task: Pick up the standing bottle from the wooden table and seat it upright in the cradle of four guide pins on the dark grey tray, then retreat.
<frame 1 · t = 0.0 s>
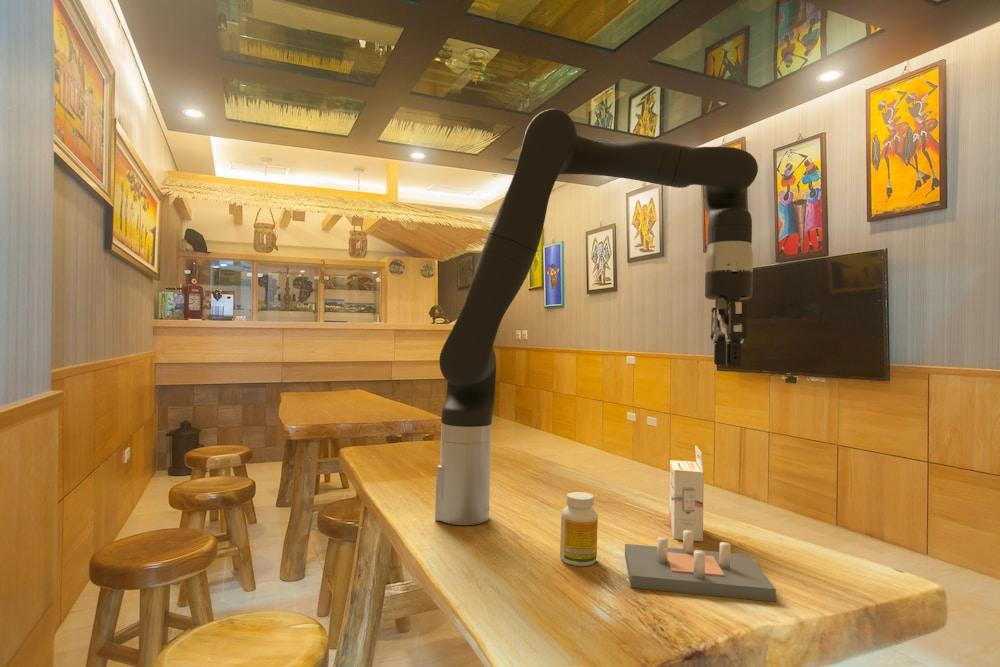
hand: (726, 365, 93), 29 cm above the table, fingers open, 8 cm apart
pin tray: (692, 575, 77), on the table
ink cartridge box: (684, 534, 95), on the table
supplement bottle: (578, 561, 82), on the table
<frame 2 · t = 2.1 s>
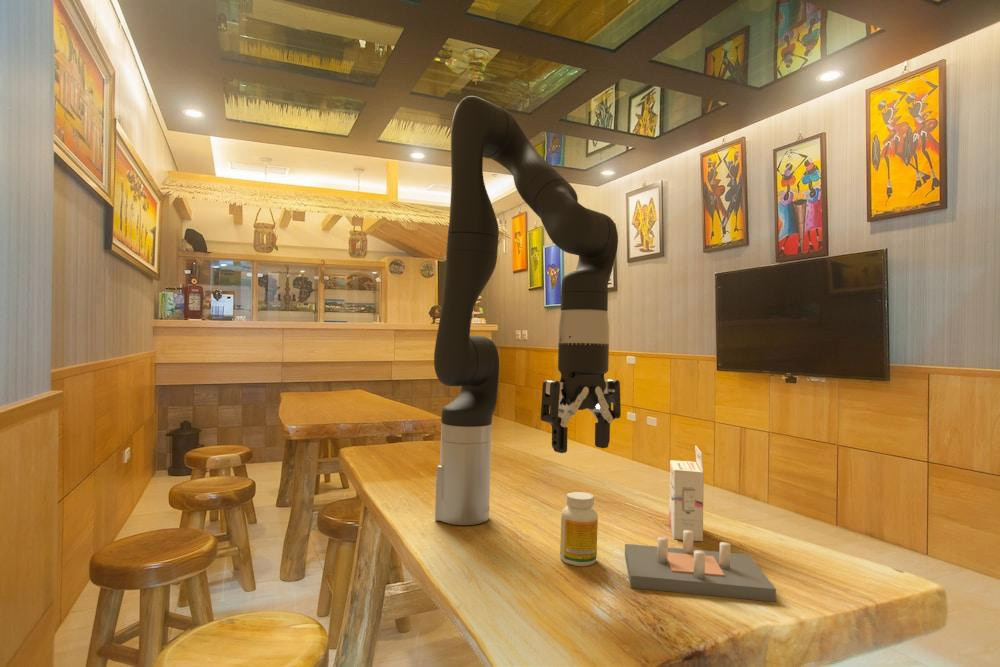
hand: (581, 449, 82), 16 cm above the table, fingers open, 8 cm apart
nothing on the table moved.
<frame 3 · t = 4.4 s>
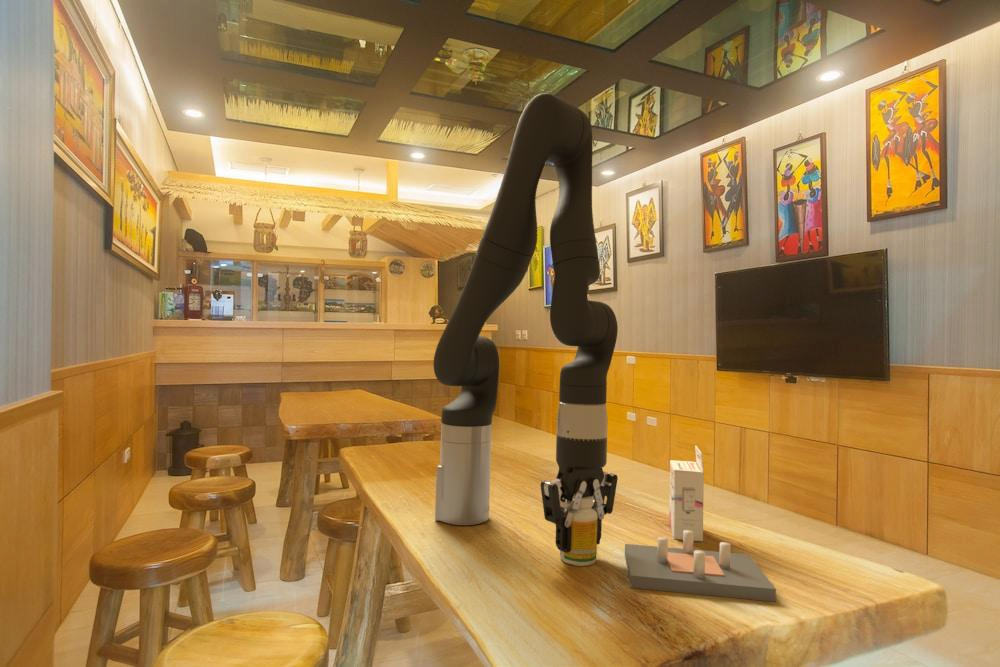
hand: (578, 546, 82), 2 cm above the table, fingers closed on supplement bottle, 5 cm apart
supplement bottle: (578, 561, 82), on the table, touching gripper
everything else where it was.
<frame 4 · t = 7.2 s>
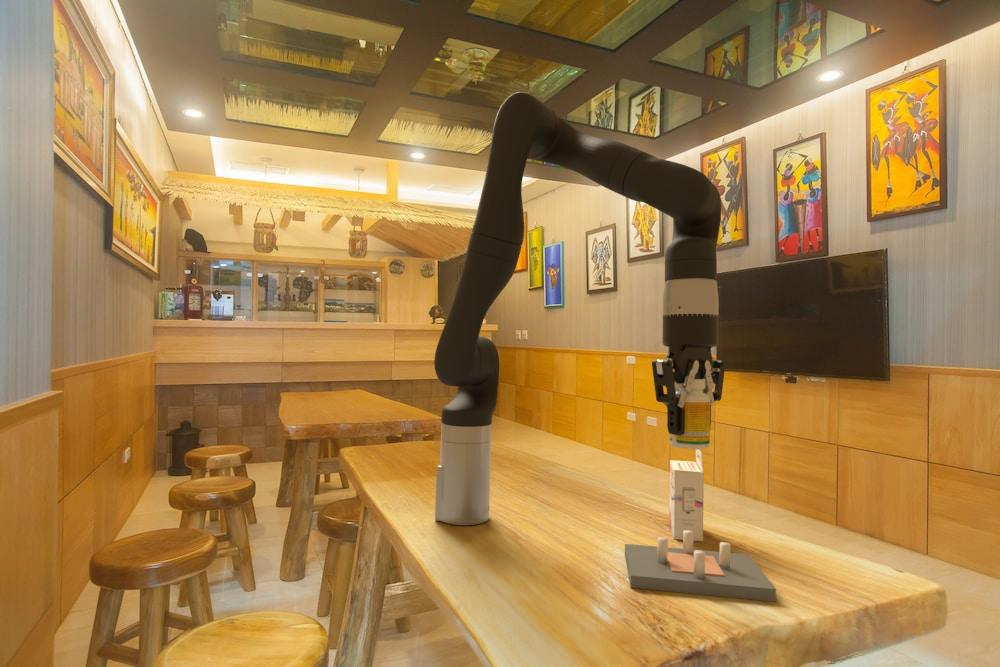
hand: (689, 432, 77), 20 cm above the table, fingers closed on supplement bottle, 5 cm apart
supplement bottle: (689, 448, 77), point 18 cm above the table, touching gripper
everything else where it was.
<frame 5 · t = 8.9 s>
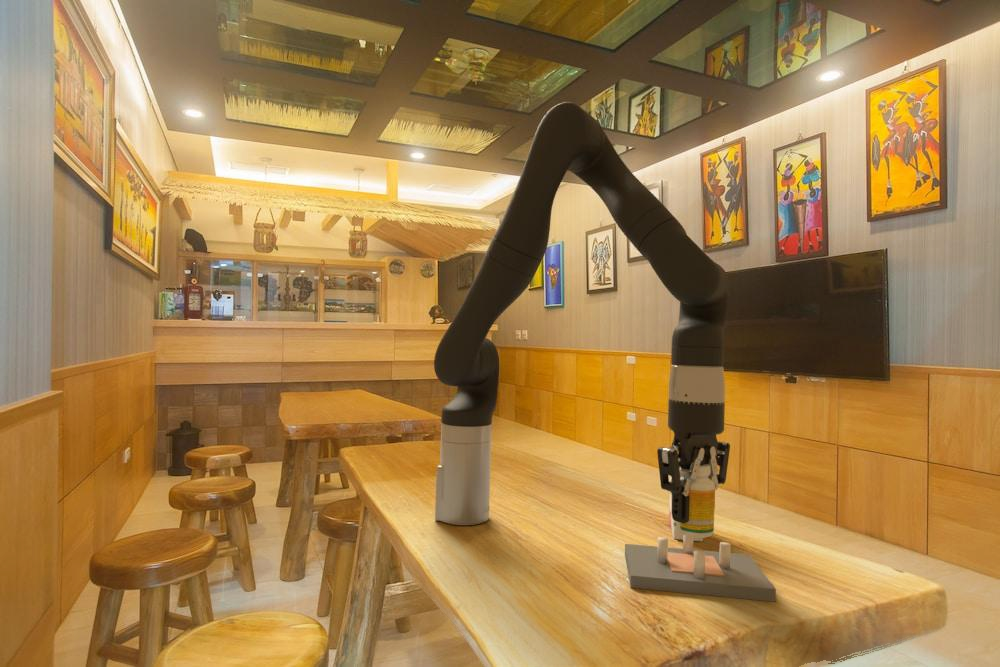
hand: (693, 517, 77), 8 cm above the table, fingers closed on supplement bottle, 5 cm apart
supplement bottle: (693, 533, 77), point 6 cm above the table, touching gripper
everything else where it was.
when the fingers open (5 cm above the table, at t = 10.4 s): supplement bottle stays where it is, resting on pin tray.
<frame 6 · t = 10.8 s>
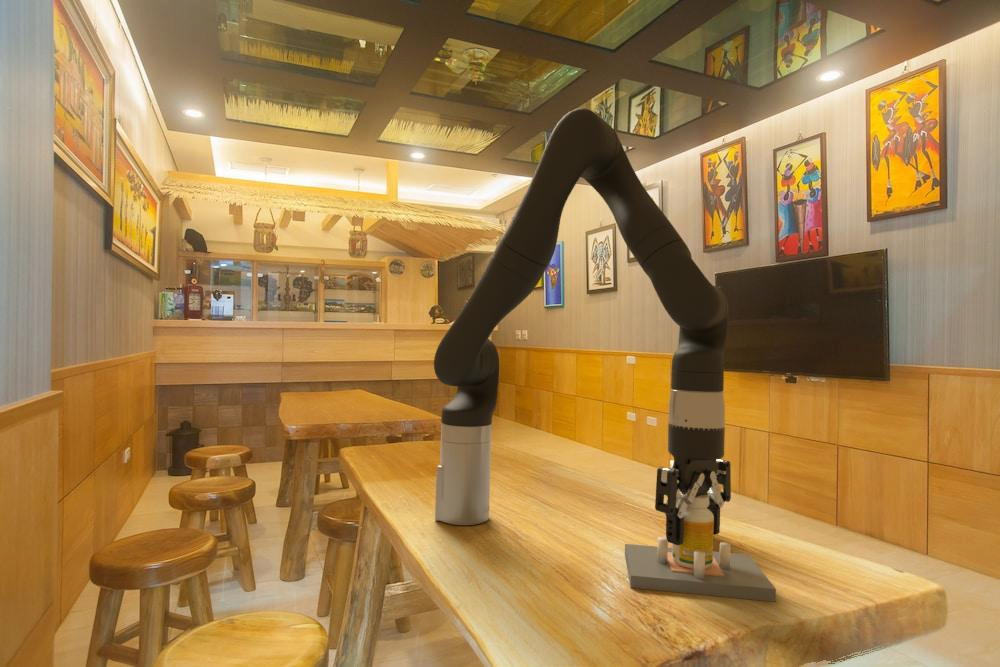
hand: (693, 537, 77), 5 cm above the table, fingers open, 8 cm apart
supplement bottle: (692, 564, 77), point 2 cm above the table, touching pin tray
everything else where it was.
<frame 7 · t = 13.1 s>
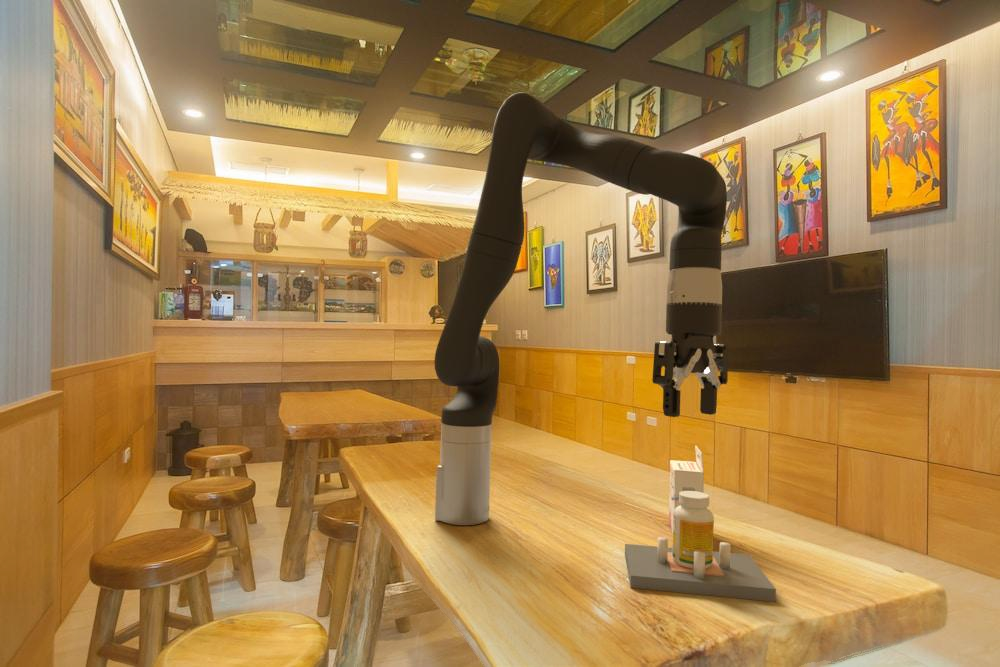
hand: (690, 415, 79), 22 cm above the table, fingers open, 8 cm apart
nothing on the table moved.
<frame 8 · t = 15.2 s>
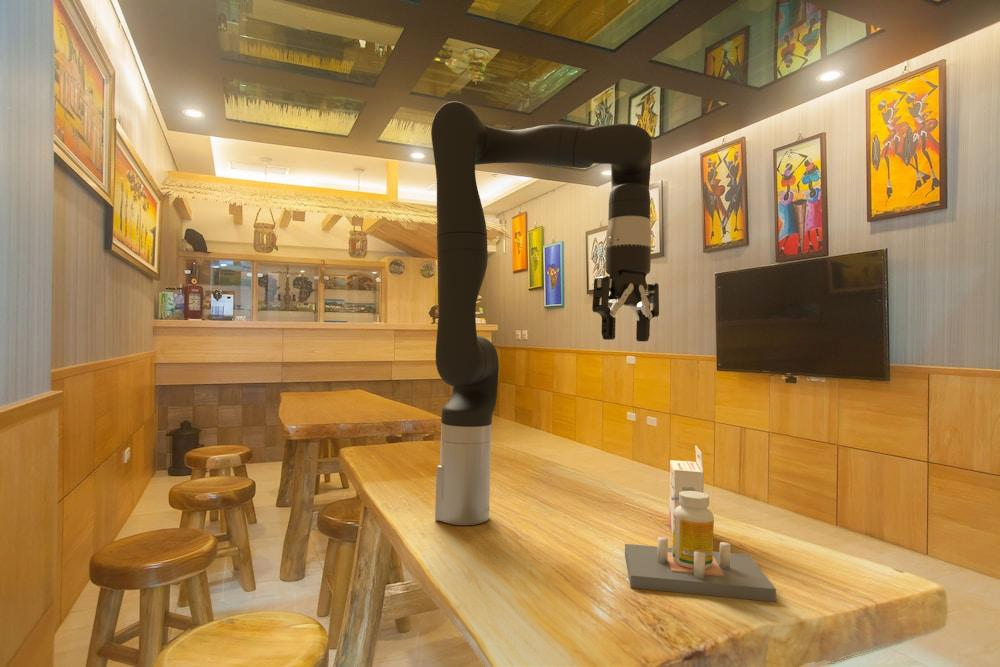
hand: (626, 340, 94), 33 cm above the table, fingers open, 8 cm apart
nothing on the table moved.
at the end: supplement bottle 0.1 cm off-centre on the pin tray, point 1.6 cm above the pin tray's base; supplement bottle tilted 0°; the gripper is holding nothing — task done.
